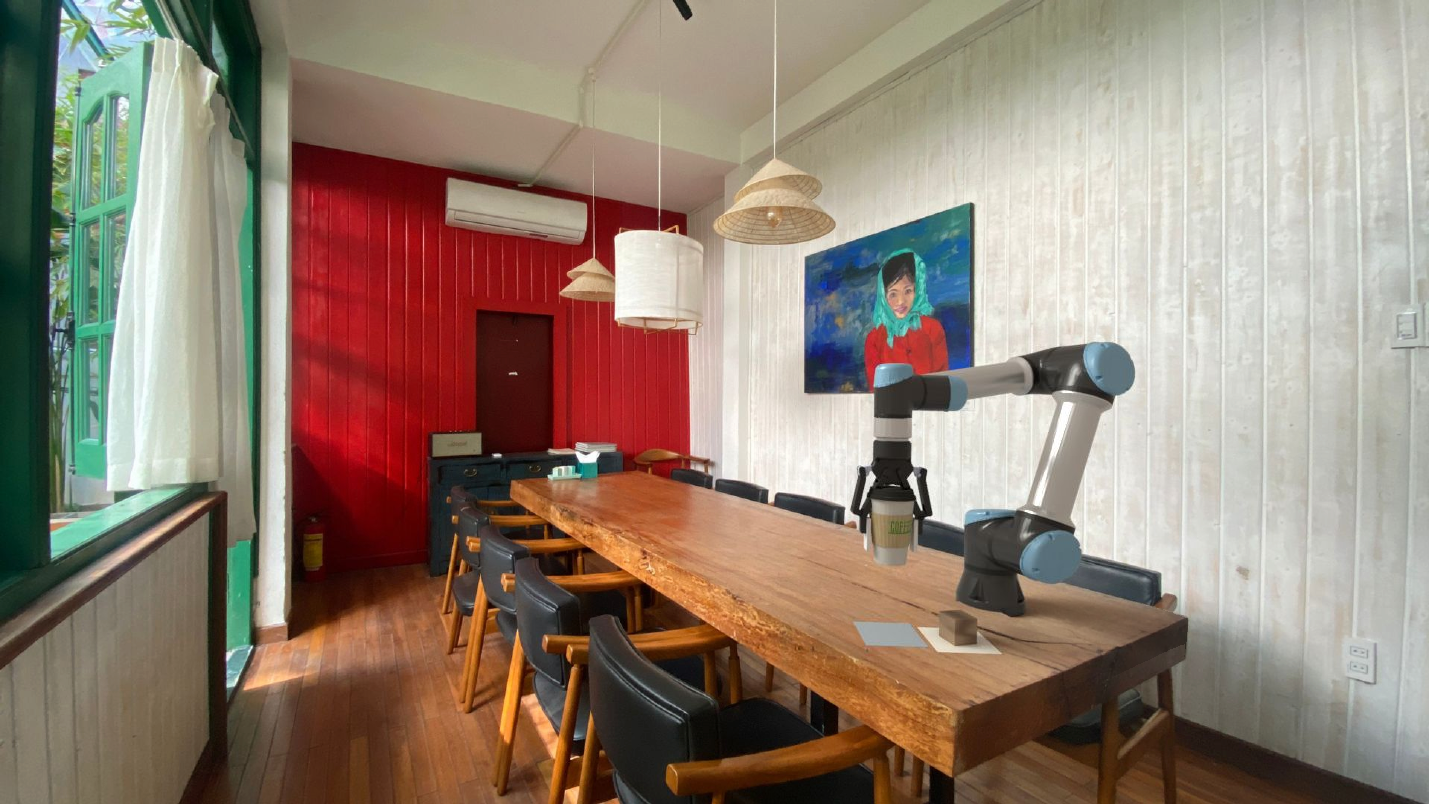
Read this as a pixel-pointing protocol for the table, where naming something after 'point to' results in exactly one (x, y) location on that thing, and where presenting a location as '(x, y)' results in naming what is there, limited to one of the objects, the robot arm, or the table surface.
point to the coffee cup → (891, 523)
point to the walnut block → (958, 627)
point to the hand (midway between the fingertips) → (890, 550)
